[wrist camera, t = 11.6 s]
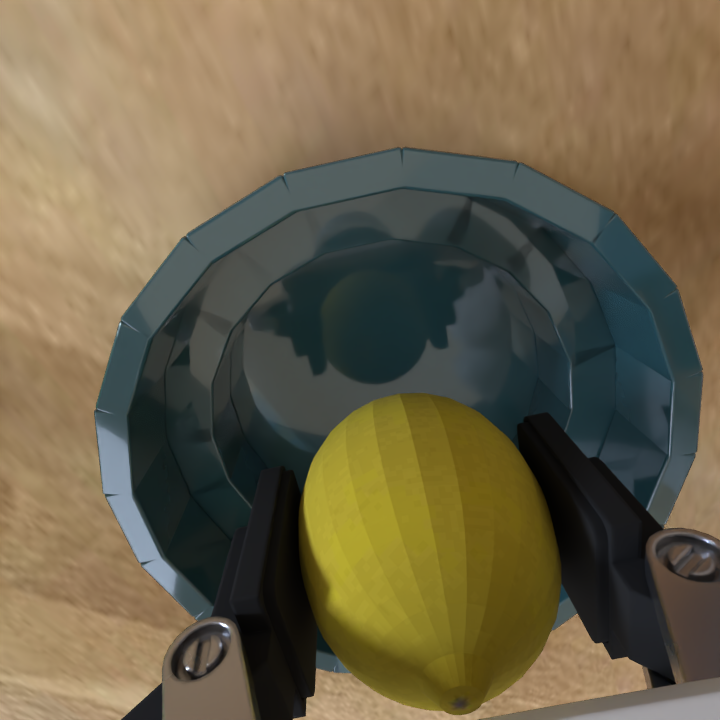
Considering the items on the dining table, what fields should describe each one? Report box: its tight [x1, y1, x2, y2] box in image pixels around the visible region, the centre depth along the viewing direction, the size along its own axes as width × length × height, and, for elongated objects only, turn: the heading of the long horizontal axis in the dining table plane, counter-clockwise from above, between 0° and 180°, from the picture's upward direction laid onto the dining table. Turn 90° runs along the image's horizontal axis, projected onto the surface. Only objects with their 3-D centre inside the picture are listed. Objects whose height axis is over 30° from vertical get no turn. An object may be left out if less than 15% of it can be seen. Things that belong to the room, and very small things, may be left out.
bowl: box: [94, 147, 703, 673], centre depth 15 cm, size 16×16×6 cm
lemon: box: [298, 393, 561, 715], centre depth 11 cm, size 6×6×8 cm
